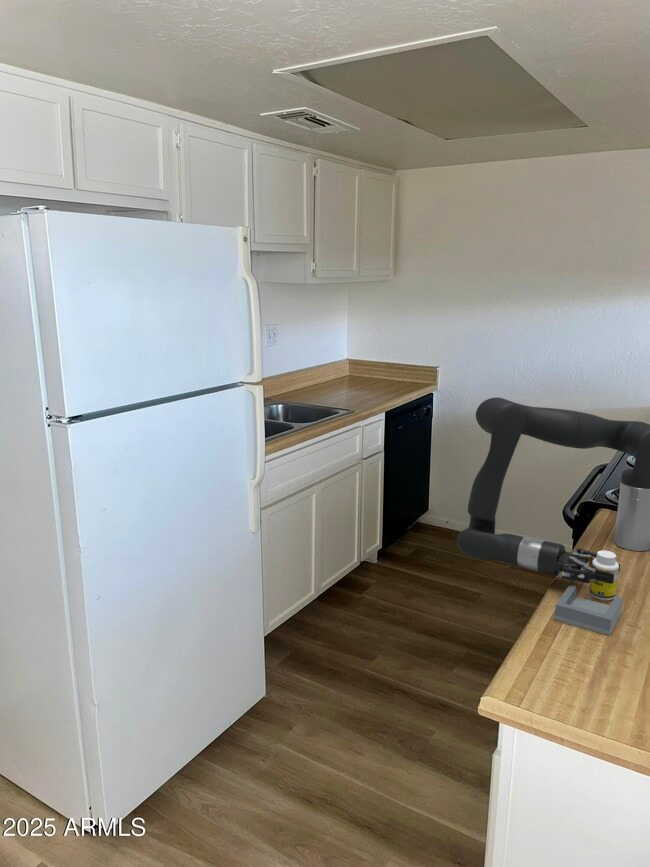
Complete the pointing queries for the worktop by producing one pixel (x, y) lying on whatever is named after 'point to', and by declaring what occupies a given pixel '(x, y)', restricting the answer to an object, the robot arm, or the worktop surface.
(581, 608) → the u rest
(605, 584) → the supplement bottle
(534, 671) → the worktop surface
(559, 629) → the worktop surface
